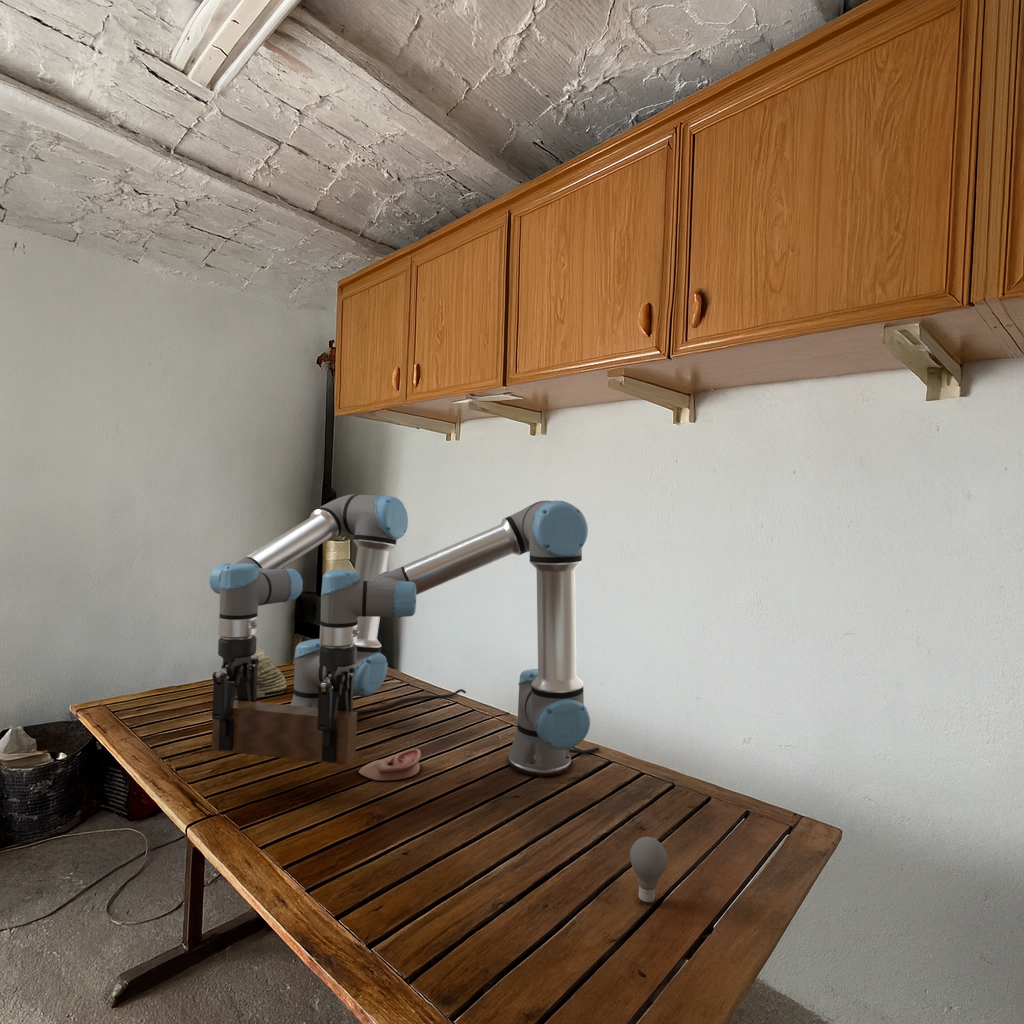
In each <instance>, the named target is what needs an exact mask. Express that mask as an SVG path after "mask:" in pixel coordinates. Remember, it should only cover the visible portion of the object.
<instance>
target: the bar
mask: <svg viewBox="0 0 1024 1024" xmlns="http://www.w3.org/2000/svg"><path fill="white" fill-rule="evenodd" d="M231 719H234V727H233V750H231V751H227V750H219V720H215V719H212V720H211V721H212V724H211V727H212V728H211V751H215V752H216V751H217V752H223V753H234V754H243V755H252V756H261V757H271V758H279V759H289V760H298V761H306V762H316V763H325V764H334V765H343V766H347V765H348V764H349V763H350V762H352V760H353V759H354V758H355V757H356V756H357V755H356V754H357V728H358V713H357V712H353V711H343V710H337V715H336V723H335V729H337V740H336V761H335V762H328V761H322V740H323V731H322V730H318V729H317V723H318V708H311V707H301V706H291V705H290V704H279V703H270V702H258V701H256V702H249V701H238V699H234V705H233V710H232V716H231Z"/></svg>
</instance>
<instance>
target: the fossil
mask: <svg viewBox="0 0 1024 1024" xmlns="http://www.w3.org/2000/svg"><path fill="white" fill-rule="evenodd" d="M251 658H256V659H259V663H258V668H257V698H264V697H271V696H275V695H281V694H284V693H285V691H286V689H287V687H288V686H287V680H286V678H285V676H284V674H283V673H282V672H281V669H279V668H278V667H277V665H276V663H275V662H274V660H273V659H272V658H271V657H270V656H269V655H268V654H267V653H266V652H265V650H264V649H263V648H260V647H258V648H257V647H256V653H255V654H254V655H252V656H251ZM250 669H251V668H250ZM228 682H232V681H228ZM251 697H252V696H251ZM235 699H238V696H237V688H236V694H235Z"/></svg>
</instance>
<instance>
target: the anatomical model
mask: <svg viewBox="0 0 1024 1024" xmlns="http://www.w3.org/2000/svg"><path fill="white" fill-rule="evenodd" d="M421 756H422V754H421V750H420V749H419V748H412V749H408V750H404V751H402V752H398V753H396V754H393V755H391V756H388V757H384V758H382V759H377V760H373V761H371V762H369V763H367V764H365V765H363V766H362V767H361V768H360V769H359V770H358V773H359V774H360V775H361V776H363V777H366V778H368V779H371V780H373V781H379V782H380V781H381V782H382V781H397V780H403V779H407V778H410V777H413V776H415V775H417V774H418V773H419V771H420V768H421V766H420V763H419V762H420V760H421Z"/></svg>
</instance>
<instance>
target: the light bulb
mask: <svg viewBox="0 0 1024 1024" xmlns="http://www.w3.org/2000/svg"><path fill="white" fill-rule="evenodd" d="M629 860H630V864H631V865H630V866H632V869H633V871H634V873H635V875H636V881H637V884H638V898H639V900H641V901H642V902H645V903H653V902H654V901H655V900H656V897H655V896H656V895H655V894H656V888H657V887H658V884H659V880H660V878H661V876H662V875H663V874H664V873H665V871H666V869H667V865H668V854H667V851H666V849H665V847H664V845H663V844H662V843H661V842H660V841H659V840H658V839H656V838H654V837H650V836H643V837H640V838H638V839H636V841H634V842H633V844H632V846H631V848H630V851H629Z"/></svg>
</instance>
